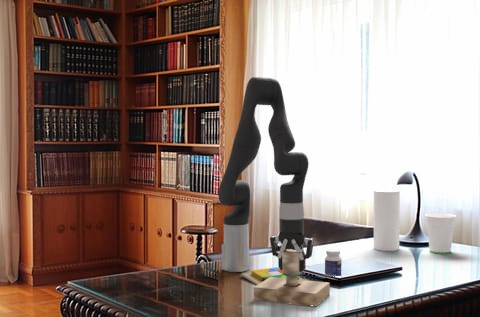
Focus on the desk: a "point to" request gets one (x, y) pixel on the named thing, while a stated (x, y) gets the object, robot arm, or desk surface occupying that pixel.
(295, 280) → the maple peg
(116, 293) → the desk surface
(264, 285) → the oak board
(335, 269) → the pill bottle
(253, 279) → the wooden puzzle
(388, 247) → the tall pillar cylinder
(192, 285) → the desk surface
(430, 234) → the cup
